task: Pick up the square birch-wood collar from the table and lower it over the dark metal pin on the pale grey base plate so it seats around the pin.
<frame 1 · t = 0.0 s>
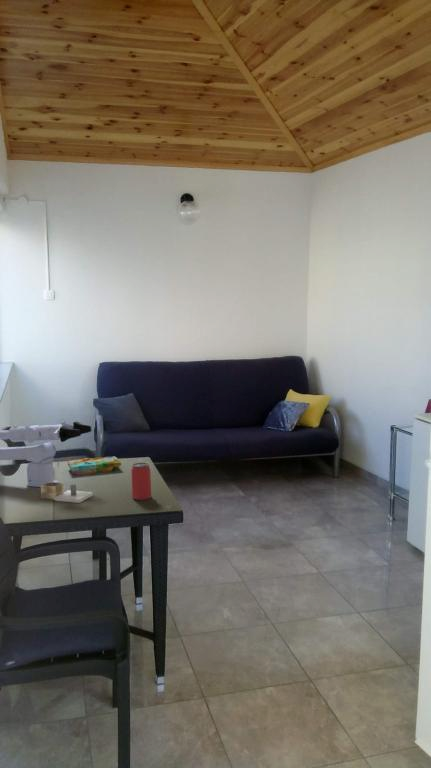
hand: (85, 430, 246), 22 cm above the table, tool horizontal, fingers open, 7 cm apart
pin block: (73, 498, 237), on the table
collar: (52, 496, 239), on the table
beer can: (141, 498, 235), on the table
puzzle game: (94, 471, 275), on the table
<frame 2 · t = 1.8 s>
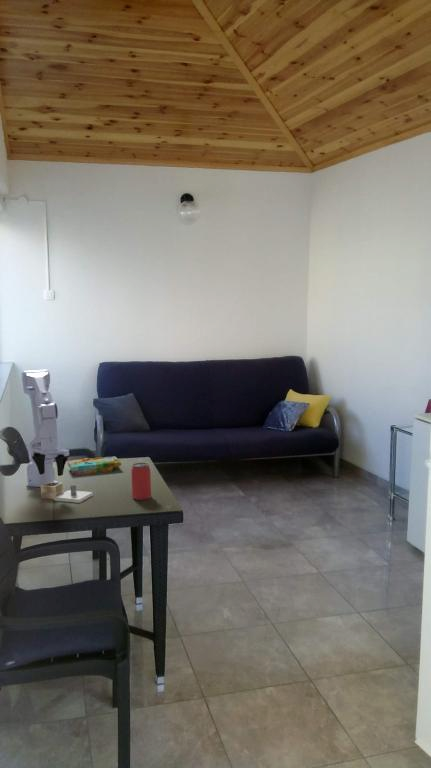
hand: (51, 474, 238), 8 cm above the table, tool pointing down, fingers open, 7 cm apart
nothing on the table moved.
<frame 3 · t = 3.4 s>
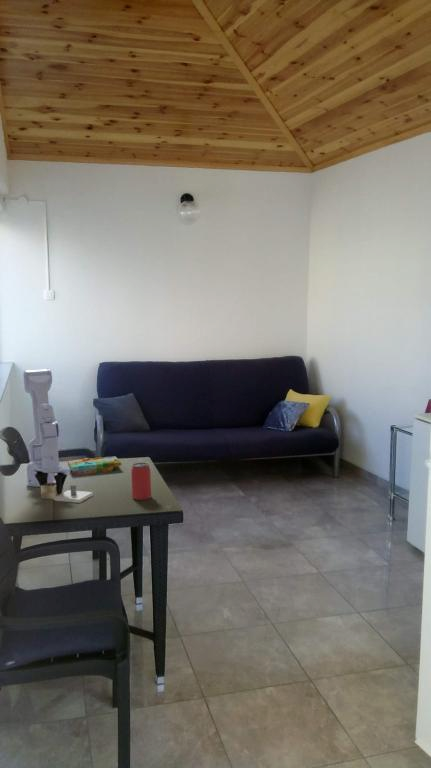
hand: (52, 492, 239), 1 cm above the table, tool pointing down, fingers closed on collar, 6 cm apart
collar: (52, 496, 239), on the table, touching gripper
everything else where it was.
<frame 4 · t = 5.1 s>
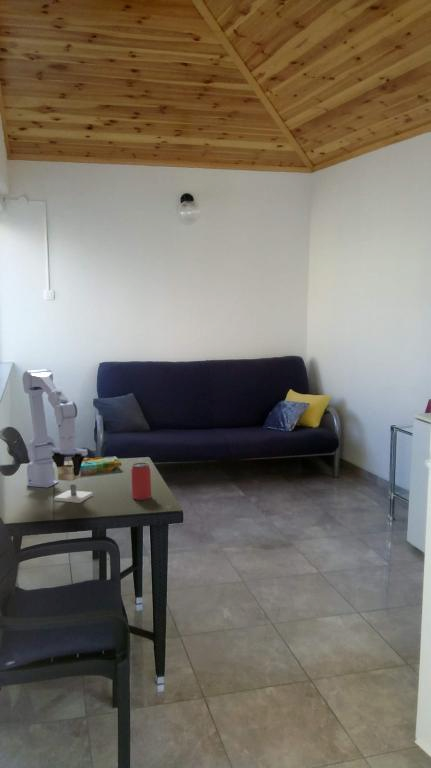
hand: (69, 474, 236), 9 cm above the table, tool pointing down, fingers closed on collar, 6 cm apart
collar: (69, 478, 236), point 7 cm above the table, touching gripper
everything else where it was.
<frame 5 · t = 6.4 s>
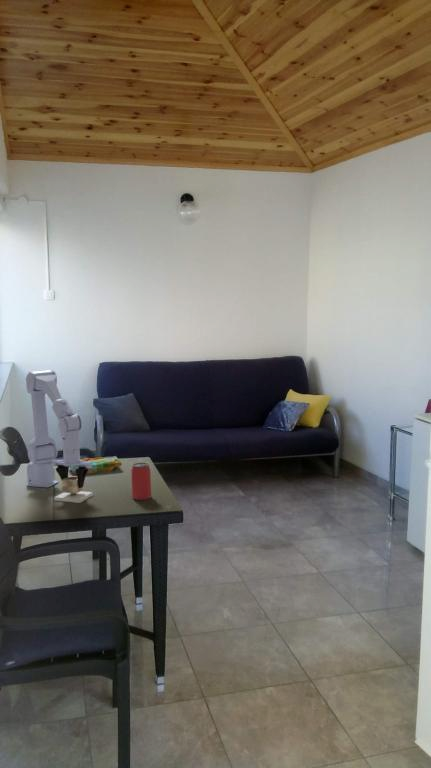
hand: (73, 486, 236), 4 cm above the table, tool pointing down, fingers closed on collar, 6 cm apart
collar: (73, 490, 236), point 3 cm above the table, touching gripper
everything else where it was.
when the fingers open (4 cm above the table, at t = 7.2 s): collar drops 1 cm, resting on pin block.
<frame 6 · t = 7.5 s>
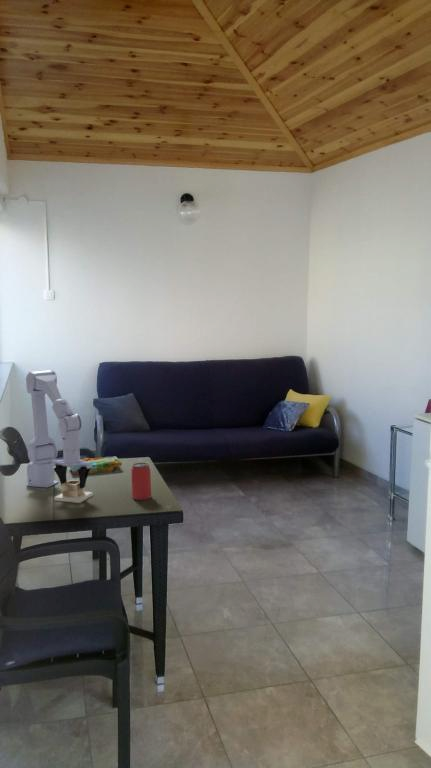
hand: (73, 486, 236), 4 cm above the table, tool pointing down, fingers open, 7 cm apart
collar: (73, 494, 237), point 1 cm above the table, touching pin block
everything else where it was.
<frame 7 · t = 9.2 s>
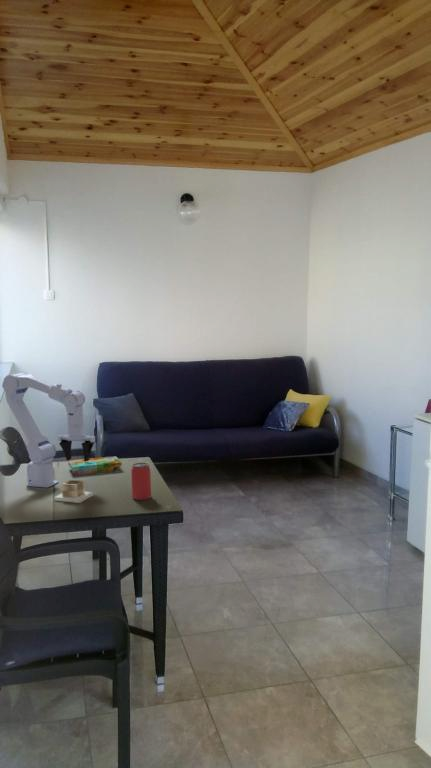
hand: (77, 460, 249), 10 cm above the table, tool pointing down, fingers open, 7 cm apart
nothing on the table moved.
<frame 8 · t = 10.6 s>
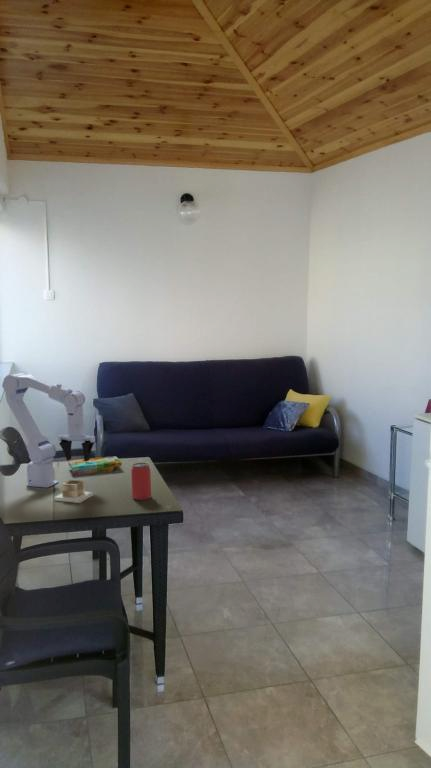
hand: (77, 460, 249), 10 cm above the table, tool pointing down, fingers open, 7 cm apart
nothing on the table moved.
at the end: collar 0.0 cm off-centre on the pin block, point 1.2 cm above the pin block's base; collar tilted 0°; the gripper is holding nothing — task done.
